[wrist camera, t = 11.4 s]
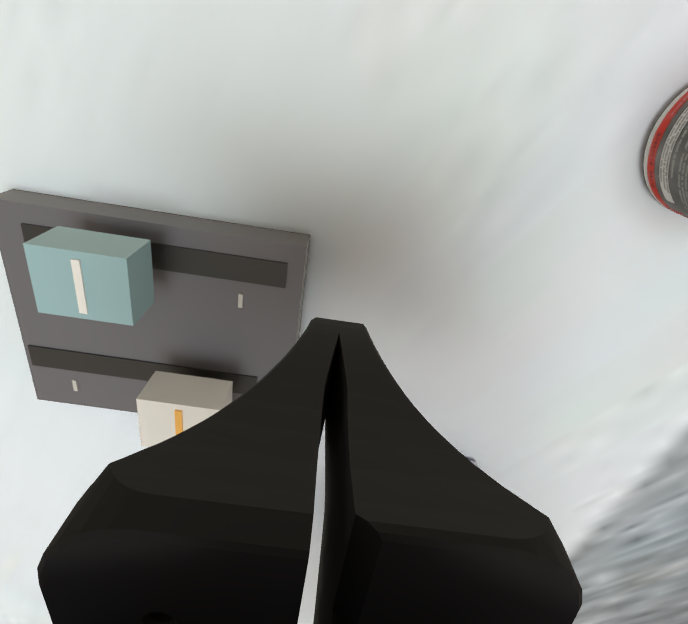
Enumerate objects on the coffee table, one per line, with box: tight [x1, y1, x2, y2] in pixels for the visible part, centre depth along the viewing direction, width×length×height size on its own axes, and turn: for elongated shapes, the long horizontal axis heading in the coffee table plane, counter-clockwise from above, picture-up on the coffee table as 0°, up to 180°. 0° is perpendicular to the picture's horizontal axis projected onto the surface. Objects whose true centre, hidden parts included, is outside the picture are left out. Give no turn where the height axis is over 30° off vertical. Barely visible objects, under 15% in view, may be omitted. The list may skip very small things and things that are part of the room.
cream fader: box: [136, 371, 233, 447], centre depth 21 cm, size 3×4×3 cm
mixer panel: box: [0, 189, 310, 413], centre depth 22 cm, size 11×14×2 cm
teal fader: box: [23, 226, 155, 326], centre depth 17 cm, size 3×4×3 cm
